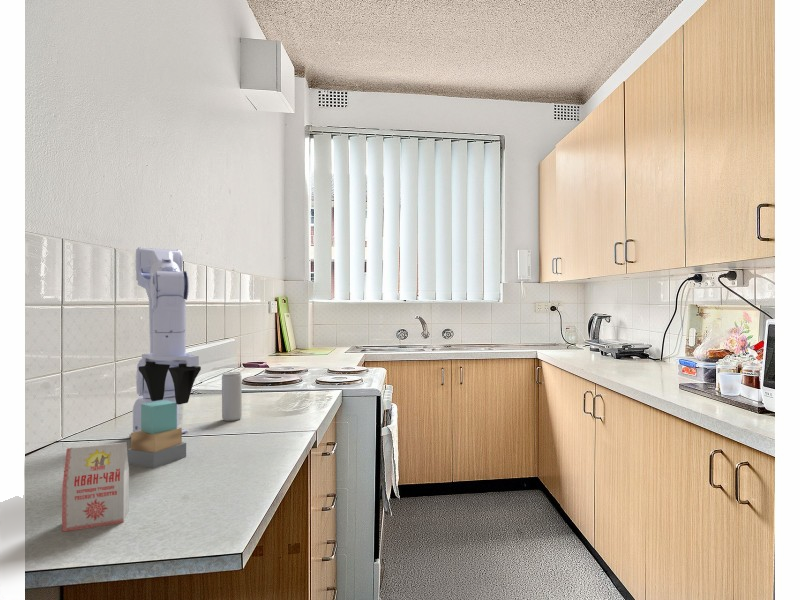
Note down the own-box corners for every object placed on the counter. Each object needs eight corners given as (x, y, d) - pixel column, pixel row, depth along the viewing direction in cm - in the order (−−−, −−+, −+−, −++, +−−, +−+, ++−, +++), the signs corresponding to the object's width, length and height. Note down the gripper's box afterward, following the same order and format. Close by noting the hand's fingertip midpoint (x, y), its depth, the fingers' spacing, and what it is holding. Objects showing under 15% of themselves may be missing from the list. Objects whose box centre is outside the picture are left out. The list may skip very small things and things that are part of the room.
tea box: (71, 519, 62) (71, 444, 62) (128, 511, 64) (128, 438, 64) (62, 531, 58) (62, 452, 59) (123, 522, 61) (123, 446, 61)
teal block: (141, 430, 87) (141, 403, 87) (165, 425, 90) (165, 400, 91) (152, 434, 84) (152, 406, 84) (176, 429, 88) (176, 402, 88)
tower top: (130, 449, 85) (130, 432, 85) (158, 440, 91) (158, 425, 91) (155, 452, 83) (155, 435, 83) (181, 443, 89) (181, 427, 89)
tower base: (127, 465, 85) (127, 449, 85) (160, 454, 92) (160, 439, 92) (154, 470, 82) (154, 453, 82) (186, 458, 89) (186, 442, 89)
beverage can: (235, 421, 117) (234, 374, 118) (218, 421, 118) (217, 374, 119) (245, 417, 122) (244, 372, 122) (228, 417, 123) (228, 371, 123)
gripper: (212, 331, 90) (212, 401, 90) (164, 331, 97) (164, 395, 97) (179, 333, 84) (179, 408, 84) (131, 332, 91) (131, 401, 91)
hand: (169, 401), depth 90 cm, fingers open, 7 cm apart
